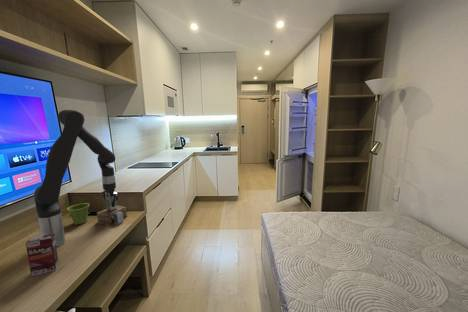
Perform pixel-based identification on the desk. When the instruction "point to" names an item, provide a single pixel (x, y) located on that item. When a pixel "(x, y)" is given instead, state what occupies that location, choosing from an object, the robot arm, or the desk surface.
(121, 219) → the grey rectangular block
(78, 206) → the plant pot
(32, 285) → the desk surface
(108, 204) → the tall pin
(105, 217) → the block with rectangular hole
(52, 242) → the supplement box
